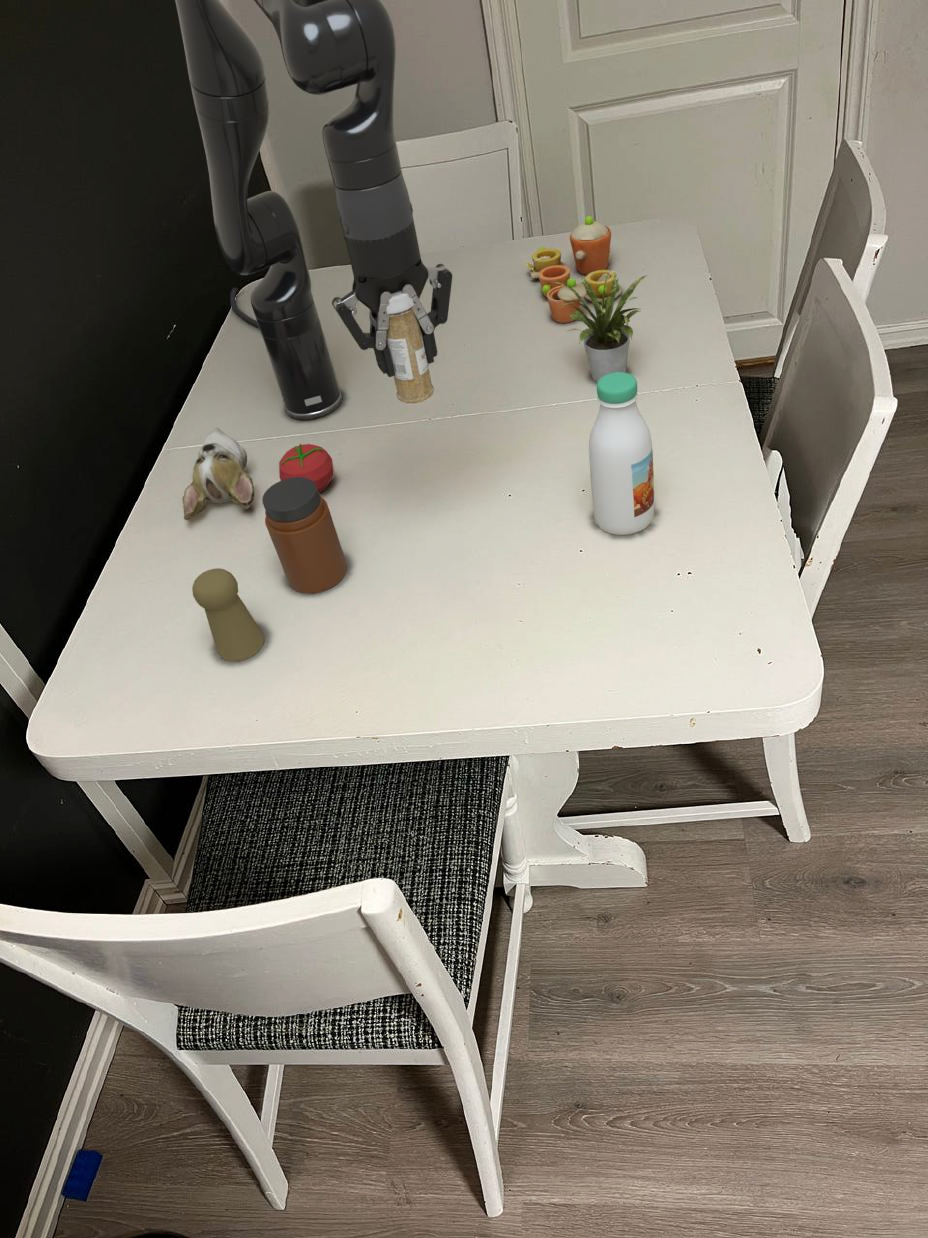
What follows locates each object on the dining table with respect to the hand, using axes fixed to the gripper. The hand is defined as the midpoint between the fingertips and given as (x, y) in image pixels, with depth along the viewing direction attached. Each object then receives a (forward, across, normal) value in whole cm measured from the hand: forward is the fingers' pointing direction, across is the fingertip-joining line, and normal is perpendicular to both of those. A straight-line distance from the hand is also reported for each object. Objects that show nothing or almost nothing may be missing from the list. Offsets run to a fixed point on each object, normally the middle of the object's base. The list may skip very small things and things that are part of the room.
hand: (409, 366), depth 111 cm
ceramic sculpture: (+24, +26, -25) cm, 43 cm away
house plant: (+24, -34, -21) cm, 47 cm away
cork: (+24, +30, +8) cm, 39 cm away
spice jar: (+4, 0, 0) cm, 4 cm away
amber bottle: (+24, +18, 0) cm, 30 cm away
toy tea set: (+24, -44, -50) cm, 71 cm away
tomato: (+24, +14, -19) cm, 34 cm away
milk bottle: (+24, -21, +12) cm, 34 cm away
